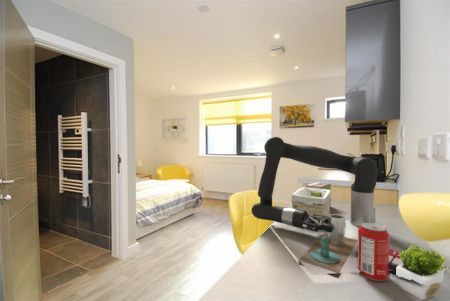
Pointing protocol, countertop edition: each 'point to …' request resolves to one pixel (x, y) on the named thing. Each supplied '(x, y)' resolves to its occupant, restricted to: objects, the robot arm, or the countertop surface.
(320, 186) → the tea box
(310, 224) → the robot arm
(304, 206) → the storage basket
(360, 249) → the soda can
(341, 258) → the jig board
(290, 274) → the countertop surface
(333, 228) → the sleeve
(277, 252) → the countertop surface
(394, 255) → the calculator
